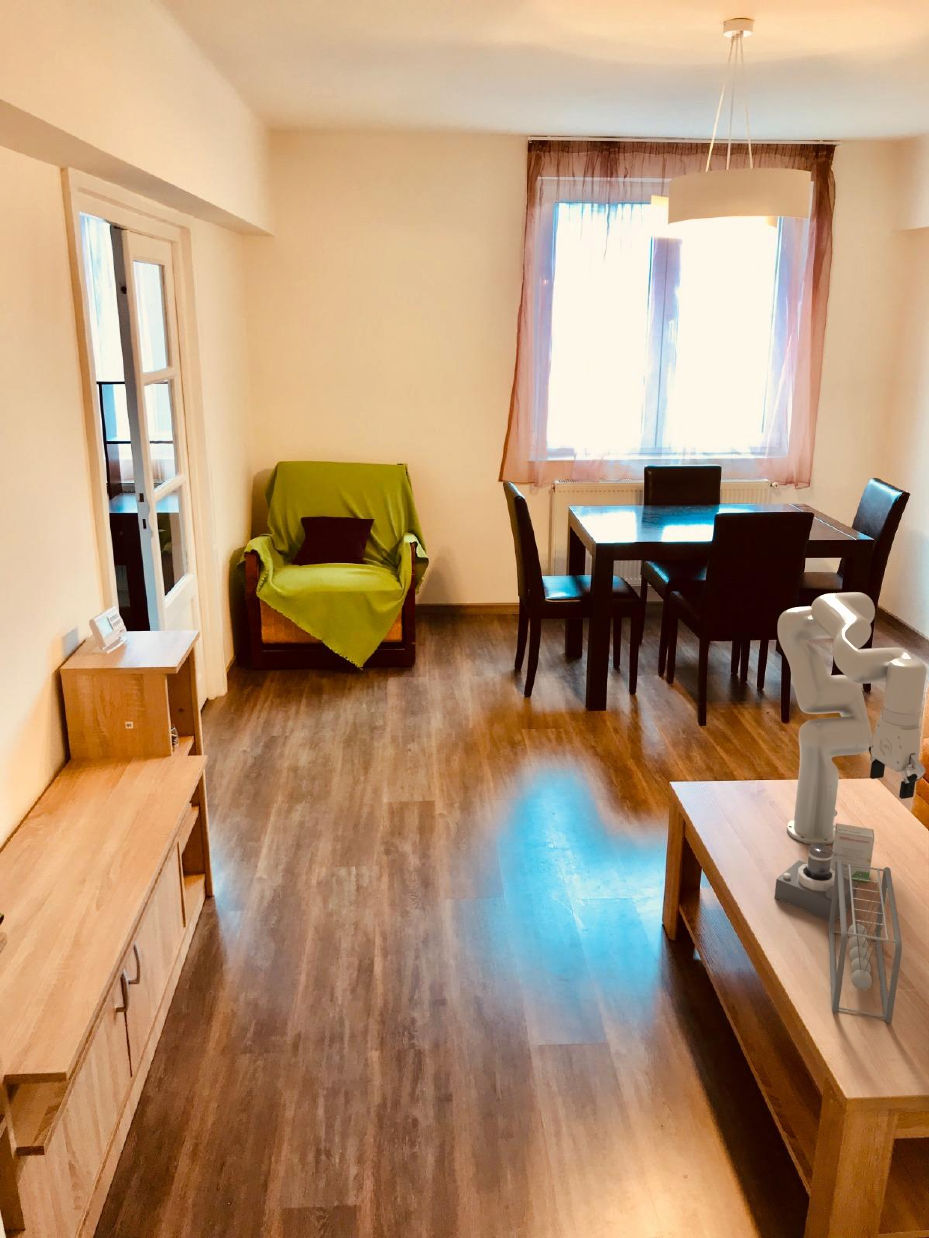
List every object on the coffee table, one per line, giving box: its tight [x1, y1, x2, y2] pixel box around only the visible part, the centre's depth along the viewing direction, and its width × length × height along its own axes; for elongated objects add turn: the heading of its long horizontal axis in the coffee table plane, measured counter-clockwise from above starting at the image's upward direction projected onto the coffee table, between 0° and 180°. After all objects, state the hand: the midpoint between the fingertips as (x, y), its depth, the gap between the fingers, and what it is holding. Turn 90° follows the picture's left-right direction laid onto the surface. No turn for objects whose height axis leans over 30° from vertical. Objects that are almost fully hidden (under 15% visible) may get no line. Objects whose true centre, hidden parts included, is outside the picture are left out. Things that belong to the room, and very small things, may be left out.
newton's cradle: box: [828, 860, 903, 1024], centre depth 194 cm, size 30×10×18 cm, turn 161°
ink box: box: [830, 822, 875, 883], centre depth 230 cm, size 9×5×12 cm, turn 71°
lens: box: [806, 844, 832, 881], centre depth 219 cm, size 5×5×8 cm
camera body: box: [774, 860, 858, 922], centre depth 221 cm, size 11×14×7 cm
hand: (890, 787), depth 213 cm, fingers open, 9 cm apart
